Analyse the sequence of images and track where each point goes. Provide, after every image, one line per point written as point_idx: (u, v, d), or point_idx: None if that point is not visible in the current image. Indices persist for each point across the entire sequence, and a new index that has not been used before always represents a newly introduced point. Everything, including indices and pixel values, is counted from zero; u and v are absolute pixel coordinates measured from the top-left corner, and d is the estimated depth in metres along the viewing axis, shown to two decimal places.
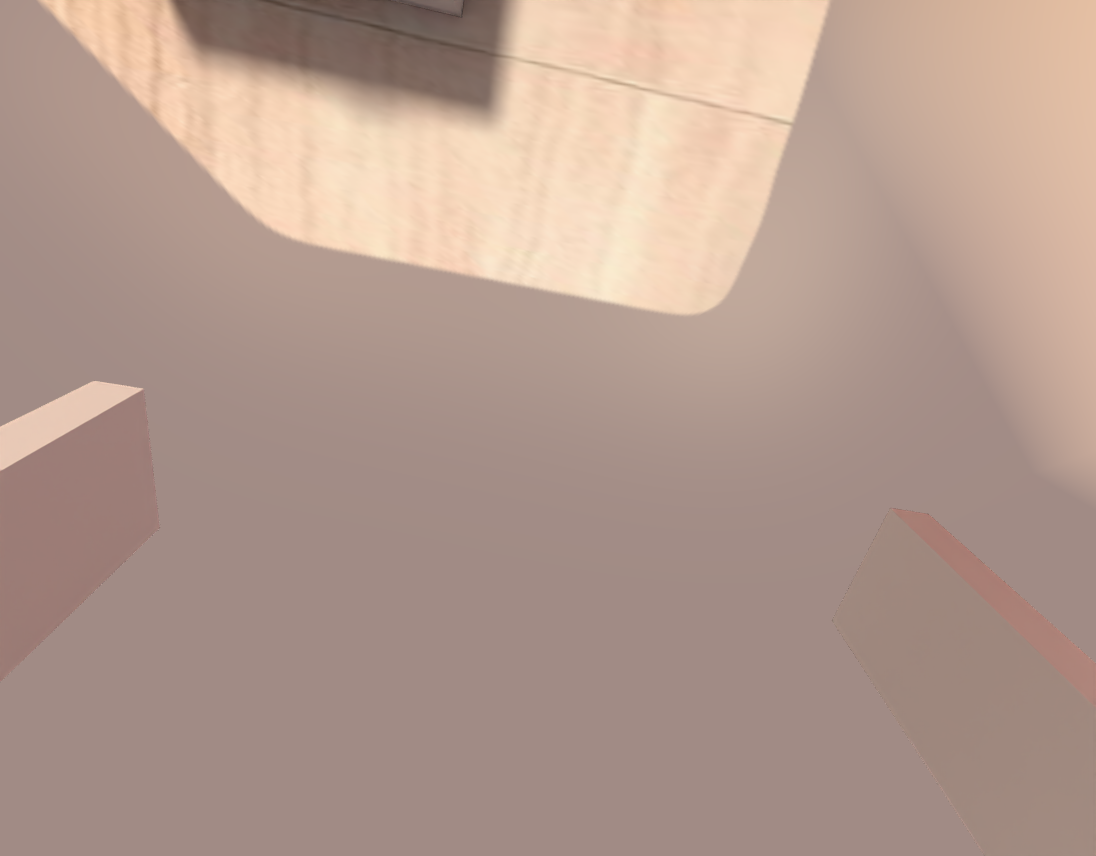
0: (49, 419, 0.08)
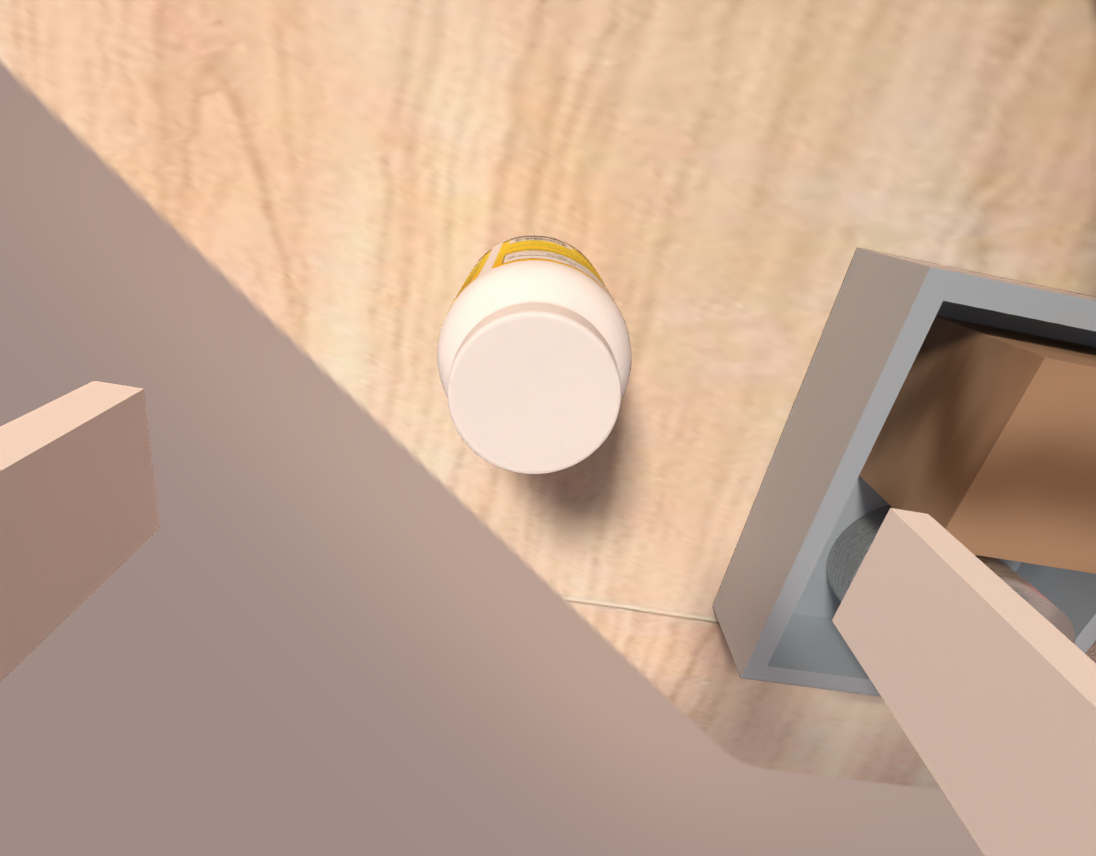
0: (47, 419, 0.08)
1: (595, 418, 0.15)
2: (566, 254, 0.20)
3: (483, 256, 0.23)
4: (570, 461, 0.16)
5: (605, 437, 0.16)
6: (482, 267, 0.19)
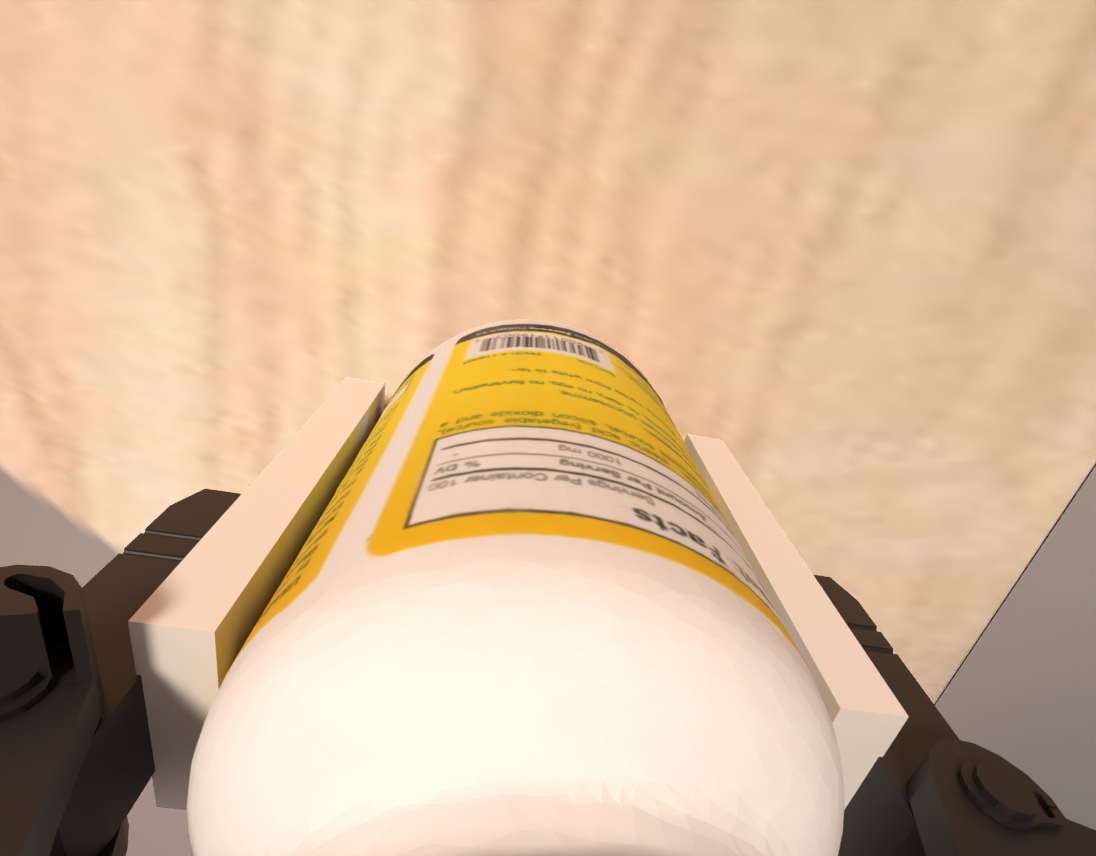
0: (342, 407, 0.10)
1: None
2: (610, 417, 0.07)
3: (415, 371, 0.10)
4: None
5: None
6: (372, 470, 0.07)
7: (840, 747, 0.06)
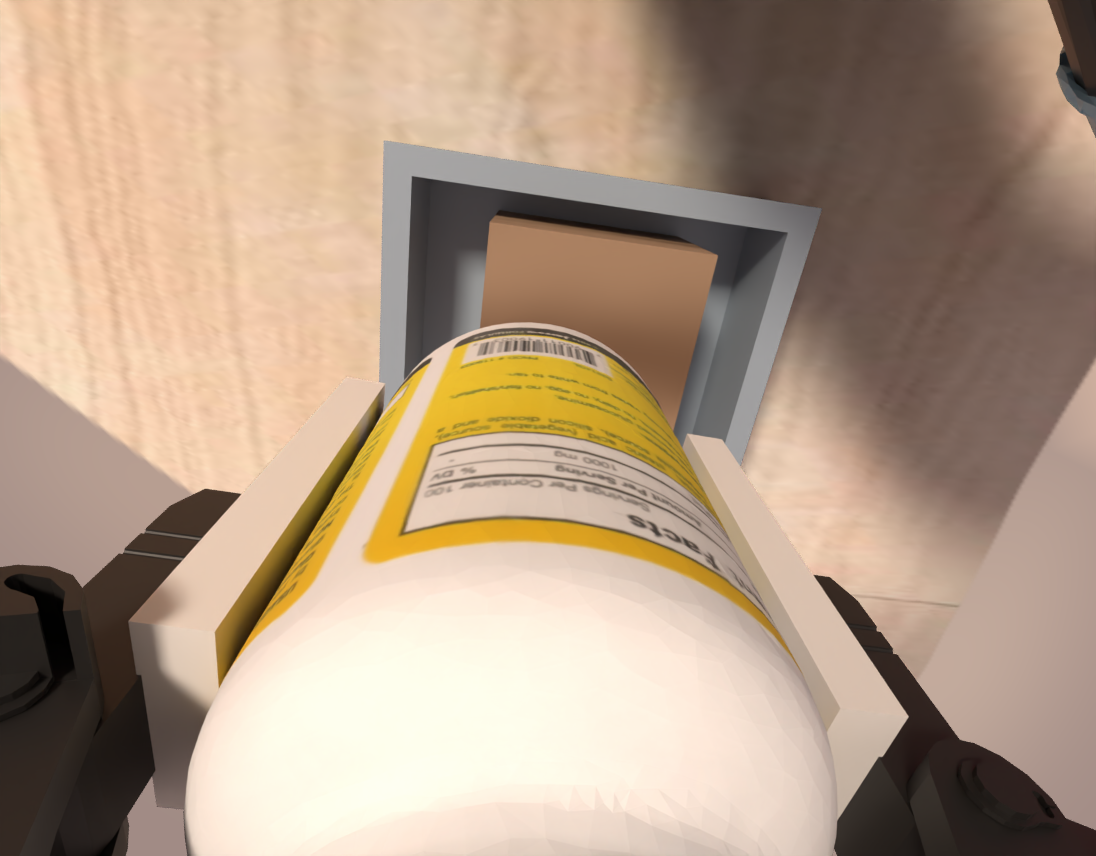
0: (341, 407, 0.10)
1: None
2: (606, 422, 0.07)
3: (413, 374, 0.10)
4: None
5: None
6: (369, 476, 0.07)
7: (840, 747, 0.06)
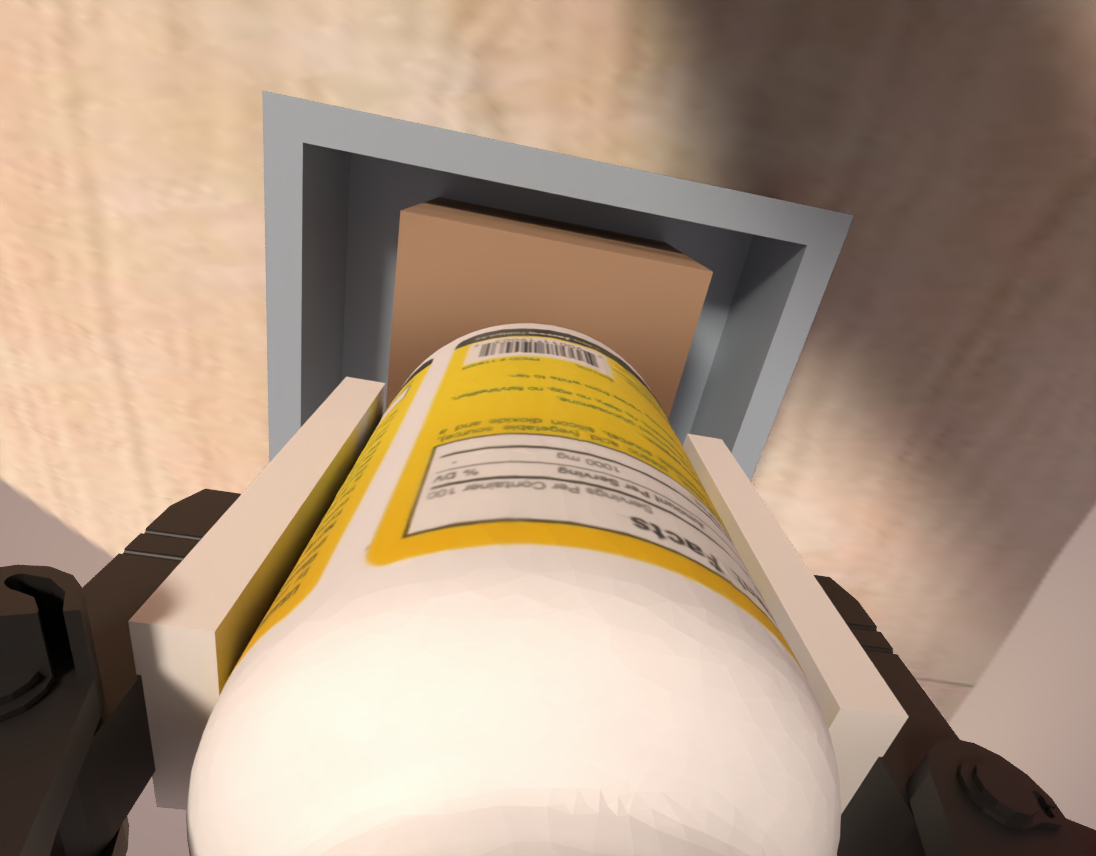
0: (341, 407, 0.10)
1: None
2: (608, 424, 0.07)
3: (414, 375, 0.10)
4: None
5: None
6: (372, 477, 0.07)
7: (840, 746, 0.06)
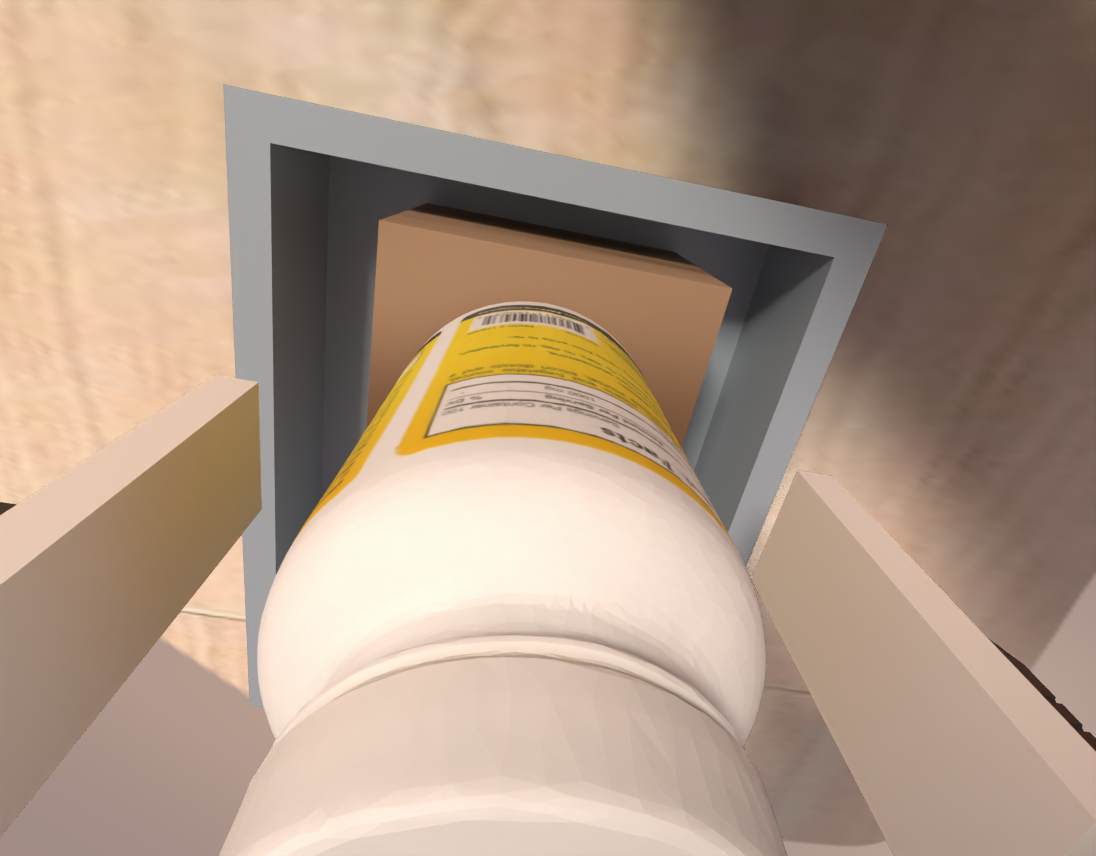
0: (190, 408, 0.09)
1: None
2: (589, 371, 0.09)
3: (425, 345, 0.12)
4: None
5: None
6: (394, 411, 0.08)
7: None
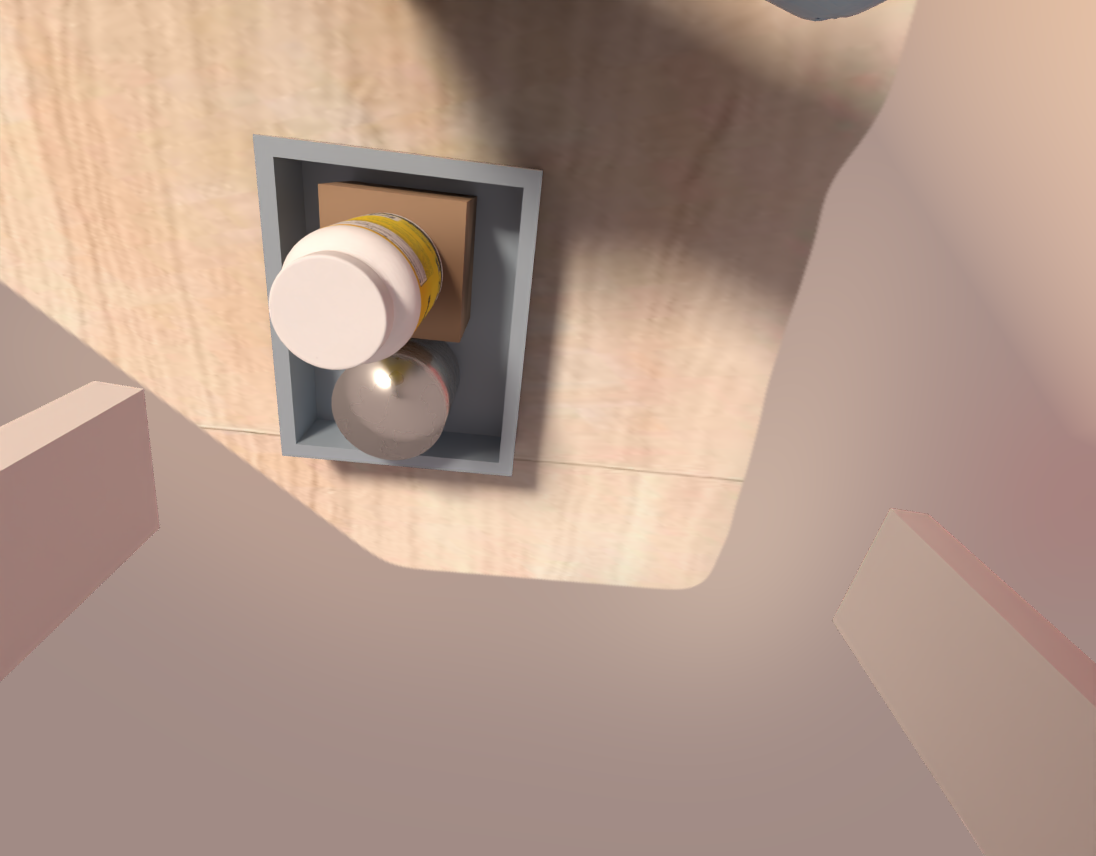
0: (47, 419, 0.08)
1: (371, 326, 0.23)
2: (379, 222, 0.27)
3: None
4: (362, 358, 0.23)
5: (381, 339, 0.23)
6: None
7: None
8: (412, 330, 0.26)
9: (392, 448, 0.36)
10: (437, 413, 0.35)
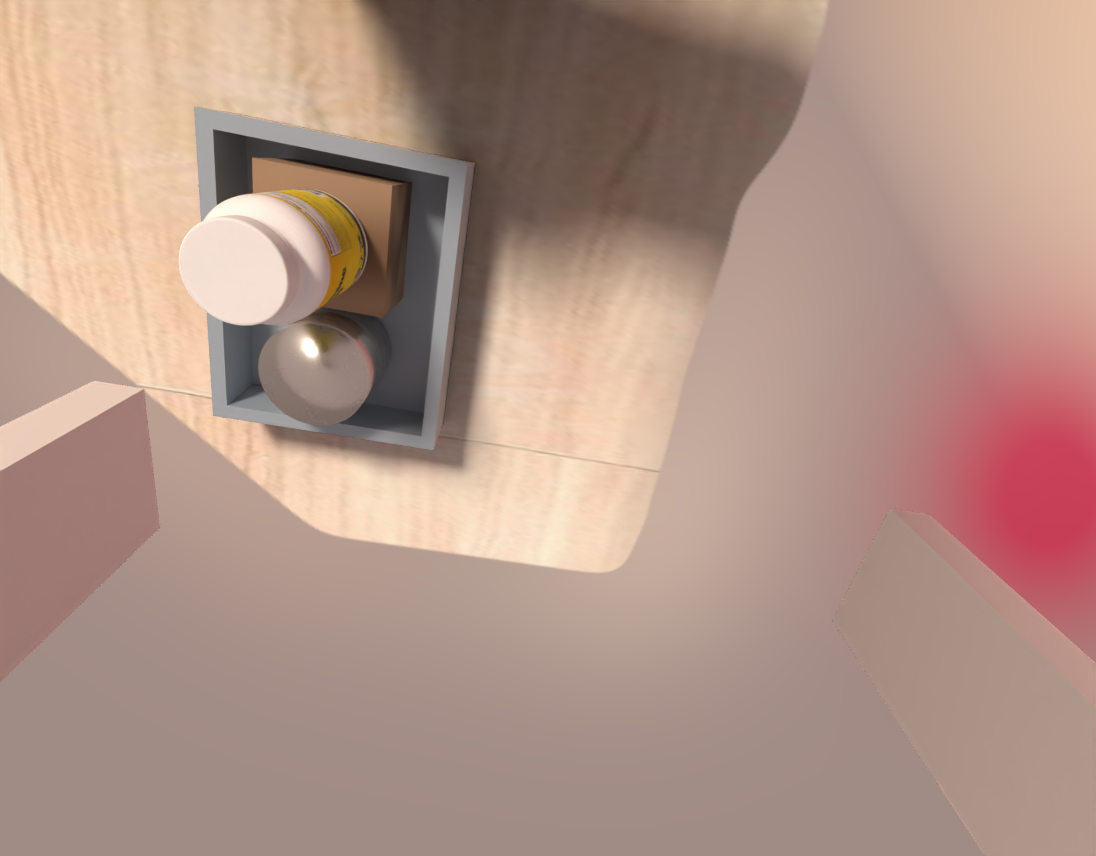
0: (48, 419, 0.08)
1: (273, 287, 0.25)
2: (299, 196, 0.29)
3: None
4: (265, 316, 0.26)
5: (283, 299, 0.25)
6: None
7: None
8: (320, 296, 0.28)
9: (315, 413, 0.38)
10: (359, 383, 0.38)
